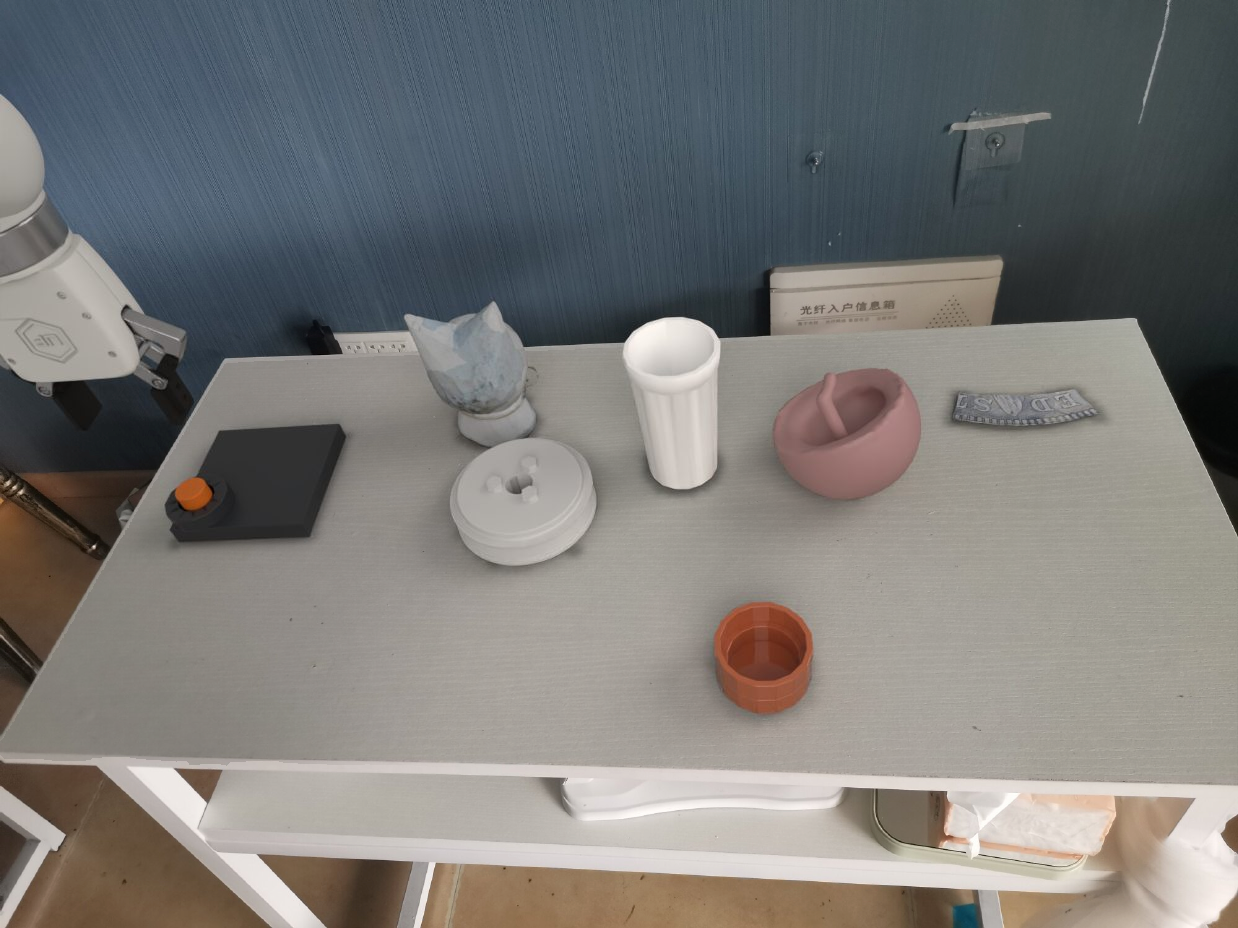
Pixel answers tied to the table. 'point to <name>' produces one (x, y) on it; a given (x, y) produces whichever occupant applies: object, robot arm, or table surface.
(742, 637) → the flower pot
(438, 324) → the figurine
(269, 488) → the scale
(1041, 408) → the coin fragment
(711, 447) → the cup
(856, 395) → the mortar and pestle
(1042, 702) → the table surface
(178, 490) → the button
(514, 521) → the gray bolted wheel hub
